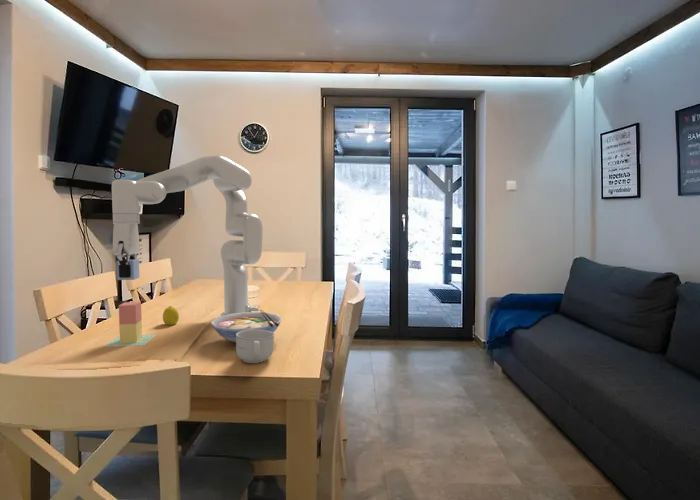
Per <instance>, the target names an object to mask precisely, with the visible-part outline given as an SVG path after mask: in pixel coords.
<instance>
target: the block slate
mask: <svg viewBox="0 0 700 500" xmlns="http://www.w3.org/2000/svg"><path fill="white" fill-rule="evenodd" d="M115 262H116V264H115V265H116V266H115V267H116V280H117V281H130V280H131V281H134V280H137V279H139V278H140V259H139V258H137V259H129V265H130V270H131V277H129V278H120V277H119V265H118V260H116V261H115Z"/></svg>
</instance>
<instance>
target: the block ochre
mask: <svg viewBox="0 0 700 500" xmlns="http://www.w3.org/2000/svg"><path fill="white" fill-rule="evenodd" d="M142 322H143V321H142V320H141V321H139V322H138V323H137V324H118V326H119V336H120V343H132V342H138V341H139V340H140V339H141V338H142V335H143V329H142V327H143V326H142Z"/></svg>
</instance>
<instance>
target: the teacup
mask: <svg viewBox="0 0 700 500" xmlns="http://www.w3.org/2000/svg"><path fill="white" fill-rule="evenodd" d="M274 339H275V332H274V333H273V332H271V331H267V330H245V331H240V332H238V333H236V342H235V352H236V355H237V358H239V359H240V360H241V361H242V362H244V363H246V362H247V364H260V363H259V362H261V363H263V361H264V362H266V361H267V360H268V359H270V357H271V356H272V355H273V352H274V342H275V341H274Z"/></svg>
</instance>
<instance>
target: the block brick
mask: <svg viewBox="0 0 700 500" xmlns="http://www.w3.org/2000/svg"><path fill="white" fill-rule="evenodd" d="M142 318H143V317H142V302H141V301H135V302H134V301H133V302H132V301H131V302H129V301H128V302H123V303H121V304H119V305H118V319H119V322H118V323H119V324H137V323H138V322H139V321H141V320H142ZM119 324H118V325H119Z"/></svg>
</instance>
